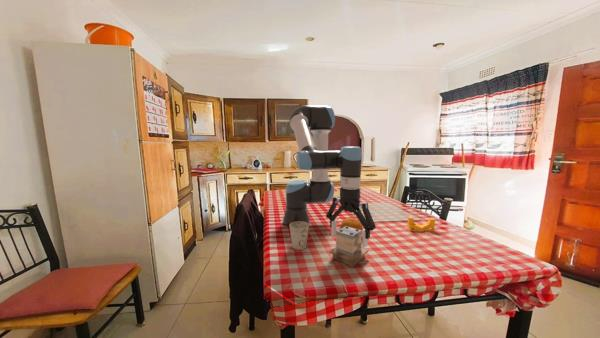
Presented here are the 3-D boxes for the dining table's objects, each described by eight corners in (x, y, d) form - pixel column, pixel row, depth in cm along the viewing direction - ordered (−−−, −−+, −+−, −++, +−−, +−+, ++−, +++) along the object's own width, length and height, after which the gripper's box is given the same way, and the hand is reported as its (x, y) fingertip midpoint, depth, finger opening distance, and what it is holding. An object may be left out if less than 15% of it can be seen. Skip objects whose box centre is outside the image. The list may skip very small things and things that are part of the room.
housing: (345, 244, 92) (345, 225, 92) (361, 250, 88) (361, 229, 87) (336, 250, 87) (336, 230, 86) (352, 256, 83) (352, 235, 82)
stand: (328, 258, 87) (329, 251, 87) (343, 248, 96) (343, 241, 95) (354, 268, 80) (354, 260, 80) (368, 257, 88) (368, 249, 88)
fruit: (355, 242, 102) (356, 225, 101) (336, 235, 109) (336, 219, 108) (366, 235, 110) (366, 219, 109) (347, 229, 117) (347, 214, 116)
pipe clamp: (409, 231, 114) (410, 219, 114) (407, 228, 118) (407, 216, 118) (435, 233, 112) (436, 221, 111) (432, 230, 116) (433, 218, 115)
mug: (294, 252, 92) (294, 229, 91) (282, 241, 103) (282, 220, 102) (312, 248, 96) (312, 225, 95) (298, 237, 107) (298, 217, 106)
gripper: (317, 184, 90) (317, 234, 93) (378, 194, 74) (375, 255, 76) (328, 181, 96) (327, 229, 99) (386, 190, 79) (384, 247, 82)
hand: (348, 240), depth 87 cm, fingers open, 13 cm apart
